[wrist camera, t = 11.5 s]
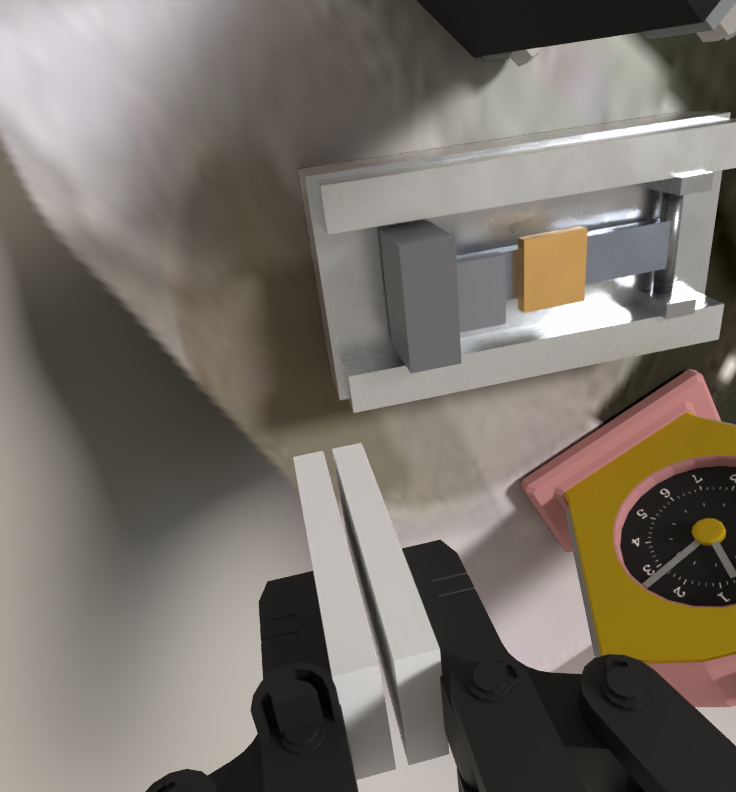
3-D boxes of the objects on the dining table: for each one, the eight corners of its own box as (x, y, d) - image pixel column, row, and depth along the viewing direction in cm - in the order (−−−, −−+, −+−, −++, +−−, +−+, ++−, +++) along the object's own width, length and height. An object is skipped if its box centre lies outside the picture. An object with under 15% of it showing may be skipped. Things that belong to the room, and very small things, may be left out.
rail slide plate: (297, 168, 37) (311, 183, 31) (686, 111, 40) (769, 113, 34) (330, 375, 44) (347, 422, 37) (664, 311, 47) (730, 343, 41)
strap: (437, 229, 35) (448, 236, 34) (675, 187, 38) (697, 191, 36) (443, 332, 38) (454, 343, 37) (664, 286, 41) (684, 294, 39)
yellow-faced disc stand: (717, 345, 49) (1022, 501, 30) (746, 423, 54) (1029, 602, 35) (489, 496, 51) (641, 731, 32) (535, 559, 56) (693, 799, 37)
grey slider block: (379, 228, 35) (398, 246, 31) (477, 212, 36) (509, 228, 32) (391, 343, 39) (410, 373, 34) (481, 326, 39) (511, 353, 35)
